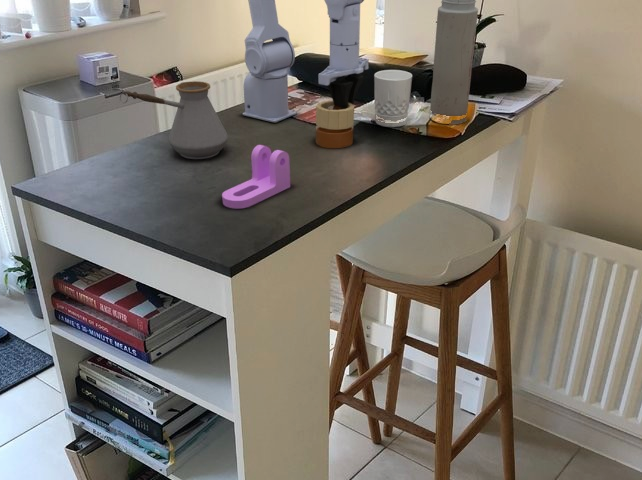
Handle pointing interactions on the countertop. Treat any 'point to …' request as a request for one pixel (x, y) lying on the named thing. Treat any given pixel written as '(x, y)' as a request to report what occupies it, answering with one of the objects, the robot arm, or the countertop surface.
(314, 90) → the countertop surface
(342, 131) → the wooden peg base
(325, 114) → the ring
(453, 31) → the thermos bottle
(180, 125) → the coffee pot
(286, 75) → the robot arm
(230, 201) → the bracket
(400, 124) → the white cup
